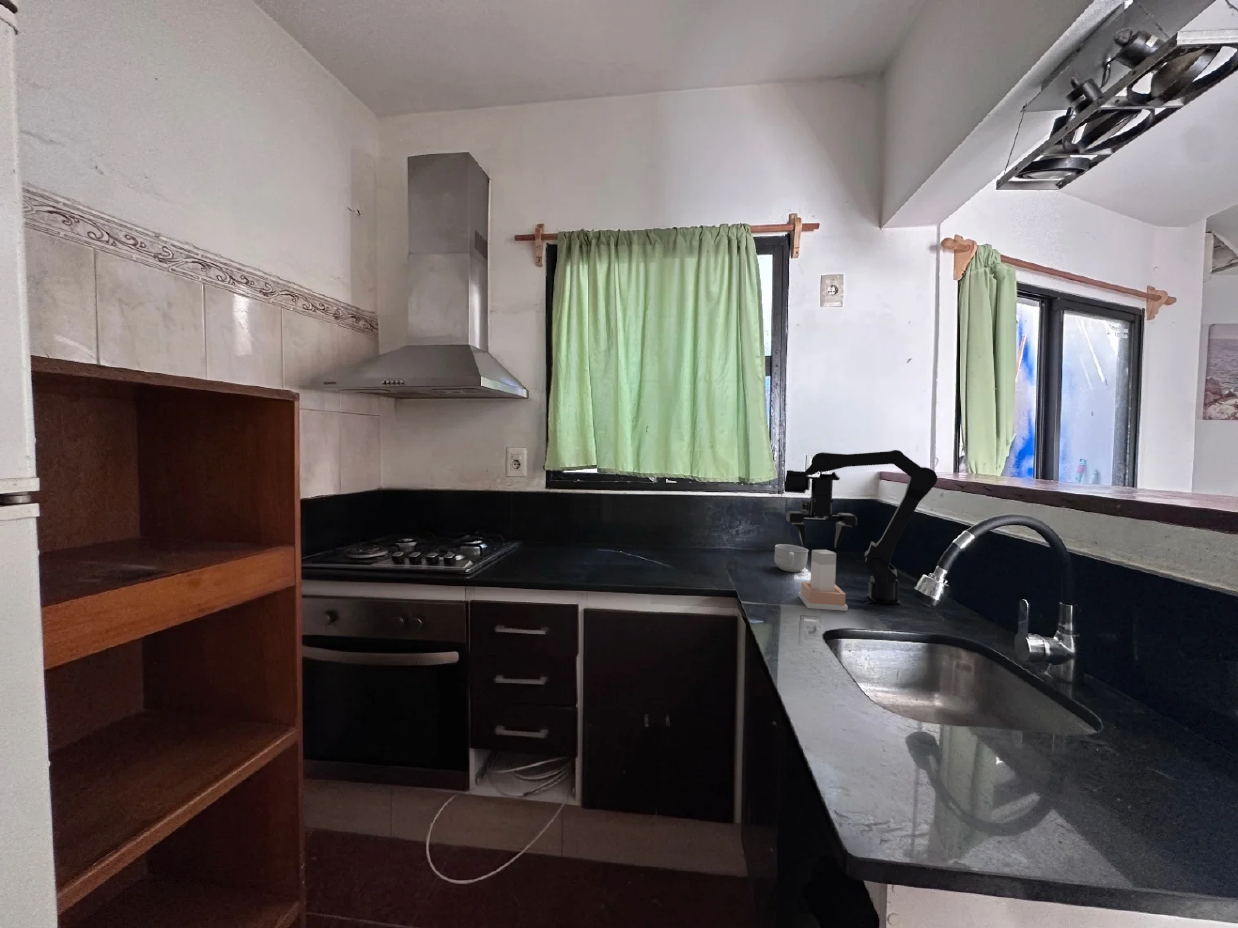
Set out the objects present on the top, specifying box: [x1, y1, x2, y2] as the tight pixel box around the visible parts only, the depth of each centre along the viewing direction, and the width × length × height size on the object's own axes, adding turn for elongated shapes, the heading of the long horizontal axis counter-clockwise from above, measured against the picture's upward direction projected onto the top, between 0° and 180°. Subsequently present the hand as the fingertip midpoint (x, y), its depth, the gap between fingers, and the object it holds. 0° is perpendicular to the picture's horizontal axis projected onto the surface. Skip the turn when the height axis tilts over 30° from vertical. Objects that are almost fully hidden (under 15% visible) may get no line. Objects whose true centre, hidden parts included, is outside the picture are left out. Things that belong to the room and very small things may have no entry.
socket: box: [798, 581, 849, 612], centre depth 127 cm, size 10×10×4 cm
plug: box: [810, 549, 837, 592], centre depth 127 cm, size 4×4×13 cm
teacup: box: [774, 543, 809, 573], centre depth 159 cm, size 14×11×8 cm
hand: (819, 546), depth 138 cm, fingers open, 9 cm apart
